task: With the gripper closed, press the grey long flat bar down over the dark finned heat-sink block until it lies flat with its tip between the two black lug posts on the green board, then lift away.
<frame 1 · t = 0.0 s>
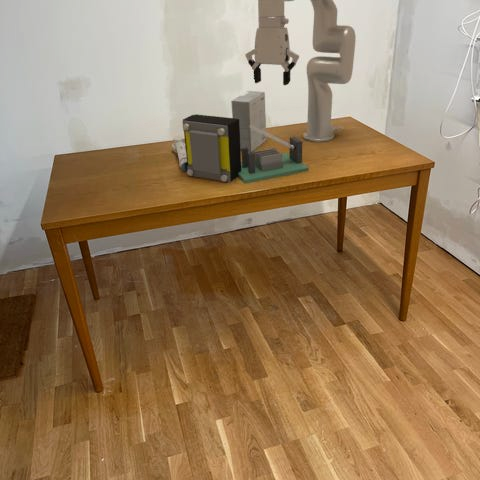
hand: (271, 83, 144), 31 cm above the table, tool pointing down, fingers open, 9 cm apart
hard drive box: (250, 146, 189), on the table
electrical component: (213, 176, 164), on the table, touching board
board: (268, 169, 166), on the table
grey long flat bar: (272, 137, 161), point 11 cm above the table, hinge at 32.0°
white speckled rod: (182, 160, 179), on the table
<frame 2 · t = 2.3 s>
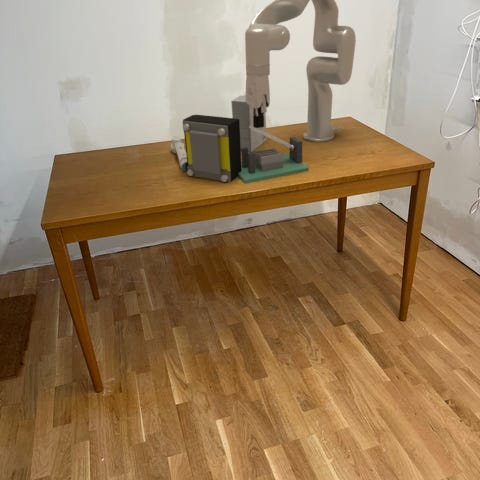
hand: (258, 126, 157), 16 cm above the table, tool pointing down, fingers closed
grey long flat bar: (272, 137, 161), point 11 cm above the table, hinge at 31.5°, touching gripper
everything else where it was.
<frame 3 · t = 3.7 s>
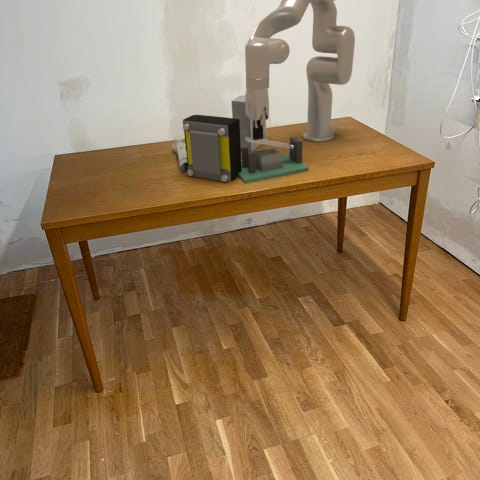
hand: (257, 138, 159), 12 cm above the table, tool pointing down, fingers closed
grey long flat bar: (270, 142, 162), point 10 cm above the table, hinge at 17.5°, touching gripper
everything else where it was.
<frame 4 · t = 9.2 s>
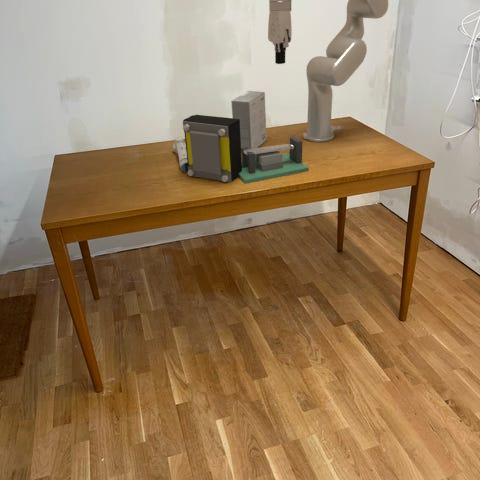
hand: (280, 63, 168), 32 cm above the table, tool pointing down, fingers closed
grey long flat bar: (269, 149, 163), point 7 cm above the table, hinge at 2.4°
everything else where it was.
at the end: grey long flat bar at +2° (first picture: +32°); grey long flat bar touching nothing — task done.
